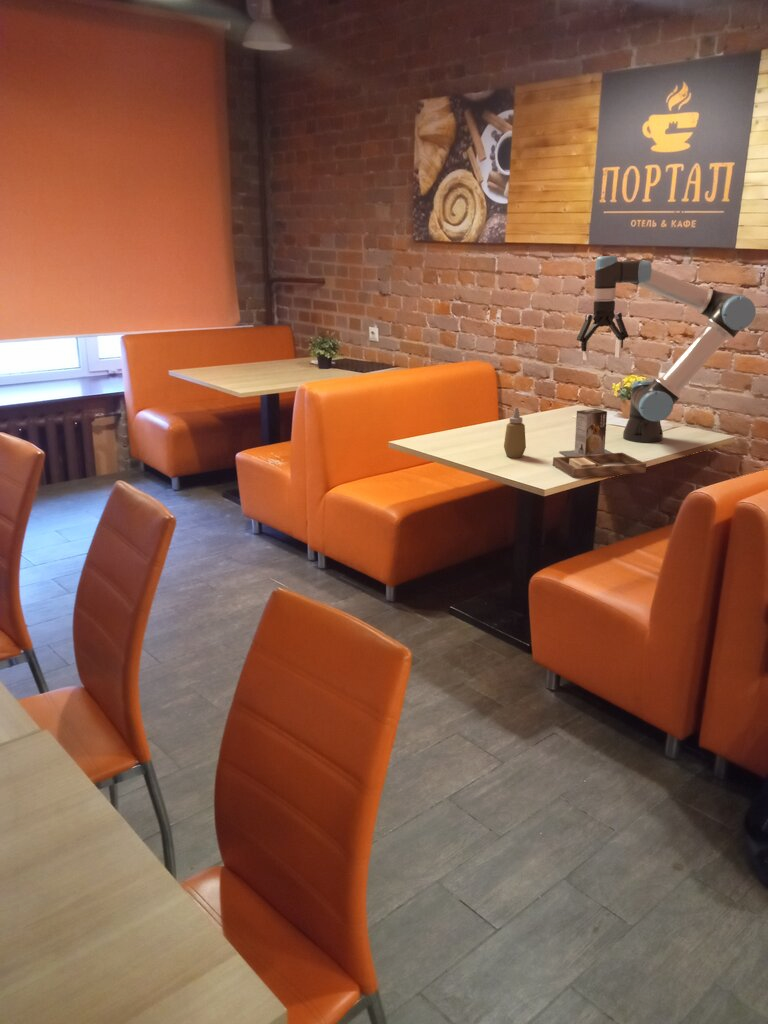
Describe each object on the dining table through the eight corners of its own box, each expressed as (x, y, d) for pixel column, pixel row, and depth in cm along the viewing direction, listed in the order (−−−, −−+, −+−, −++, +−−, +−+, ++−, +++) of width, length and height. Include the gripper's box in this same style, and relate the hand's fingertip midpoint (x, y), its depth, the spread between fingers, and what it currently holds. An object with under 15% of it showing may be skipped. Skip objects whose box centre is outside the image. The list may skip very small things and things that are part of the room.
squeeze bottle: (501, 454, 305) (502, 406, 300) (522, 453, 306) (524, 405, 300) (506, 459, 298) (508, 410, 292) (528, 458, 298) (530, 409, 293)
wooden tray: (621, 460, 295) (622, 452, 294) (645, 472, 279) (646, 464, 278) (552, 465, 289) (553, 457, 288) (573, 477, 274) (573, 469, 273)
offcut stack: (584, 467, 288) (584, 457, 287) (597, 474, 279) (597, 464, 278) (568, 468, 286) (568, 458, 285) (580, 475, 278) (581, 465, 276)
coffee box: (593, 450, 306) (596, 408, 301) (604, 454, 301) (608, 411, 296) (573, 453, 303) (576, 410, 298) (584, 457, 297) (588, 413, 292)
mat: (603, 449, 310) (603, 448, 310) (620, 458, 298) (620, 456, 298) (559, 452, 306) (559, 451, 306) (574, 461, 294) (574, 459, 294)
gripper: (628, 297, 307) (625, 355, 313) (568, 301, 300) (566, 359, 307) (640, 298, 300) (636, 357, 307) (579, 302, 293) (577, 362, 300)
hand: (601, 358), depth 307 cm, fingers open, 13 cm apart
